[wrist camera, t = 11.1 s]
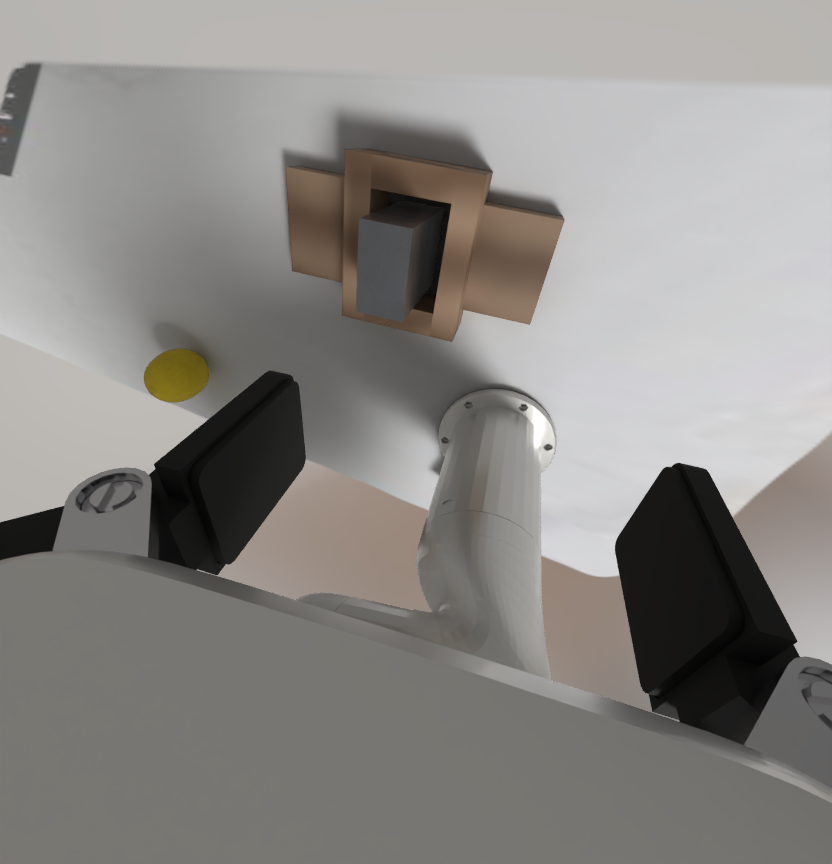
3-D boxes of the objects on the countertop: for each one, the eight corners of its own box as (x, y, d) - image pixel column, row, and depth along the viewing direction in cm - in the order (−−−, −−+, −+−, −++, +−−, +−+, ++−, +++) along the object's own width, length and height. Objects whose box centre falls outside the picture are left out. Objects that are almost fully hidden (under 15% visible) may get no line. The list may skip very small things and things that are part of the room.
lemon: (172, 347, 48) (117, 378, 41) (200, 331, 45) (146, 361, 39) (203, 385, 50) (155, 420, 44) (231, 372, 47) (185, 406, 41)
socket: (523, 337, 36) (521, 358, 33) (303, 286, 39) (279, 300, 35) (572, 186, 29) (577, 191, 25) (296, 135, 31) (265, 134, 28)
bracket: (432, 283, 35) (402, 322, 27) (395, 275, 36) (355, 311, 28) (444, 208, 32) (412, 228, 24) (403, 200, 32) (359, 218, 24)
